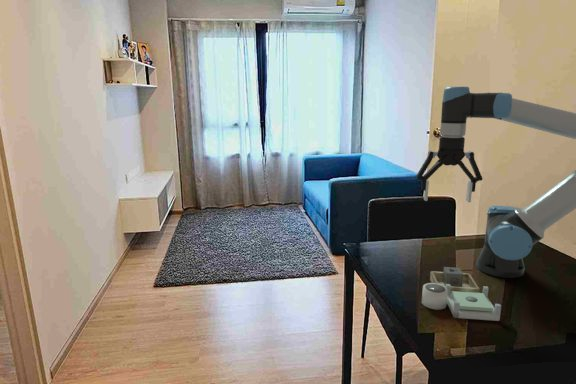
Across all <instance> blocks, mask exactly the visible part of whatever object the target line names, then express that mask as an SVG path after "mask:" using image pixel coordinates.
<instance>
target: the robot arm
mask: <svg viewBox="0 0 576 384" xmlns="http://www.w3.org/2000/svg"><path fill="white" fill-rule="evenodd" d="M442 95H443V96H442V103H441V105H442V106H441V117H440V118H441V120H440V131H439V134H440V137H439V141H438V151H432V150H428V152H427V156H426V159H425V160H424V162H423V164H422V165H421V167H420V169H419V171H418V172H417V174H416V176H415V177H416V178H417V179H418V180H420V181H421V191H423V200H424V201H425V202H428V198H429V184H430V181H429V179H430V178H431V176H433V174H434V173H436V171H438V169H439V168H441V167H442V166H443V165H444V166H453V167H454V166H457V165H458V166H459V168H460V169H461V170H462V171H463V172H464V174H465V175H466V176H467V177H468V179H469V180H468V181H467V184H466V185H467V189H466V196H465V197H466V198H465V201H466V202H467V203H471V202H472V195H473V194H472V193H473V192H474V193H475V192H476V184H477V182H479V181H480V182H481V181H482V180H483V179H484V178H483V176H482V174H481V171H480V169H479V167H478V164H477V161H476V160H475V152H474V151H471V150H470V151H469V150H468V151H467V152H465V141H466V138H465V137H464V136H466V133H467V132H466V130H467V119H469V118H470V119H472V118H477V119H496V120H500V121H504V122H508V123H511V124H515V125H520V126H523V127H527V128H529V129H530V128H531V129H535V130H537V131H542V132H546V133H549V134H552V135H553V134H554V135H557V136H562V137H565V138H568V139H573V140H576V112H572V111H567V110H564V109H560V108H559V109H558V108H555V107H552V106H551V107H550V106H546V105H543V104H539V103H533V102H530V101H525V100H522V99H517V98H513V94H511V93H510V92H477V93H475V92H471V91H470V87H469V86H447V87H445V88H444V90H443V94H442ZM436 157H437V158H438V160H437V161H436V162H435V163H434V164H433V165H432V167H431V168H430V169H429V170H427V169H428V167H429V166H430V164H431V163H432V161H433V159H434V158H436ZM464 157H465V158H466V159H467V160H468V162H469V164H470V166H471V169H472V171H473V173H474V175H475V176H474V175H473V174H472V173H471V171H470V170H469V169H468V168H467V166H466V164H465V163H464V162H463V161H462V160H463V159H464ZM425 172H426V173H425ZM574 210H576V169H575V170H574V171H572V172H571V173H570V174H568V175H567V176H565V177H564V178H563V179H561V180H560V181H559V182H558V183H556V184H555V185H553V186H551V188H549V189H548V190H547V191H545V192H544V193H543V194H542V195H540V196H539V197H537V198H536V199H535V200H533V201H532V202H531V203H529V204H528V205H527V206H526V207H524V208H521V207H514V206H506V205H491V206H489V207H488V209H487V213H486V216H487V217H486V226H485V235H484V244H483V247H482V249H481V251H480V253H479V255H478V257H477V259H476V268H477V269H478V270H479V271H480V272H482V273H485V274H487V275H490V276H494V277H498V278H504V279H505V278H506V279H515V278H520V277H523V276H524V274H525V262H524V260H523V258H526V257H527V256H528V255H529V254H530V253H531V251H532V248H533V246H534V245H535V244H537V243H538V242H540V241H541V240H542V239H544V238H545V232H546V230H547V229H549V228H551V226H553V225H555V224H556V223H557V222H558V221H560V220H561V219H563V218H564V217H566V216H567V215H569V214H570V213H572V212H573V211H574Z"/></svg>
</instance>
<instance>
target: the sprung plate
mask: <svg viewBox="0 0 576 384" xmlns="http://www.w3.org/2000/svg"><path fill="white" fill-rule="evenodd" d="M451 295H452V296H453V298H454V300H455V301H459V303H460V307H459V309H464V310H479V311H493V307H492V306H491V304H490V303H489V301H488V300H487V298H486V297H485V295H484V294H483V293H482V292H479V293H473V292H457V291H452V293H451Z"/></svg>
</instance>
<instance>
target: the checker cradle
mask: <svg viewBox="0 0 576 384" xmlns="http://www.w3.org/2000/svg"><path fill="white" fill-rule="evenodd" d="M446 288H447V289H448V294H447V305H448V306H447V307H448V308H449V310H450V312H451V314H452V317H453V319H467V320H468V319H469V320H482V321H495V322H496V321H497V322H499V321H501V319H500V318H501V310H502V305H501V304H500V303H494V305H493V304H492V302H491V301H490V299H489V297H488V295H489V287H488V286H487V285H486V286H485V285H483V286H482V292H481V293H483V294H484V295H485V297H486V298H487V300H488V301H489V303H490V304H491V306H492V307H493V311H479V310H464V309H459V307H460V303H459V301H455V300H454V298H453V296H452V295H451V293H450V289H451V285H450V284H446Z"/></svg>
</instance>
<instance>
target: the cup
mask: <svg viewBox="0 0 576 384" xmlns="http://www.w3.org/2000/svg"><path fill="white" fill-rule="evenodd" d="M447 294H448V289H447V288H446V287H445V286H443V285H440V284H436V283H431V282H427V283H425V284H423V285H422V294H421V295H422V296H421V304H422V305H423V306H424V307H425V308H428V309H431V310H435V311H437V310H444V309H446V307H447V305H448V304H447Z"/></svg>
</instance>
